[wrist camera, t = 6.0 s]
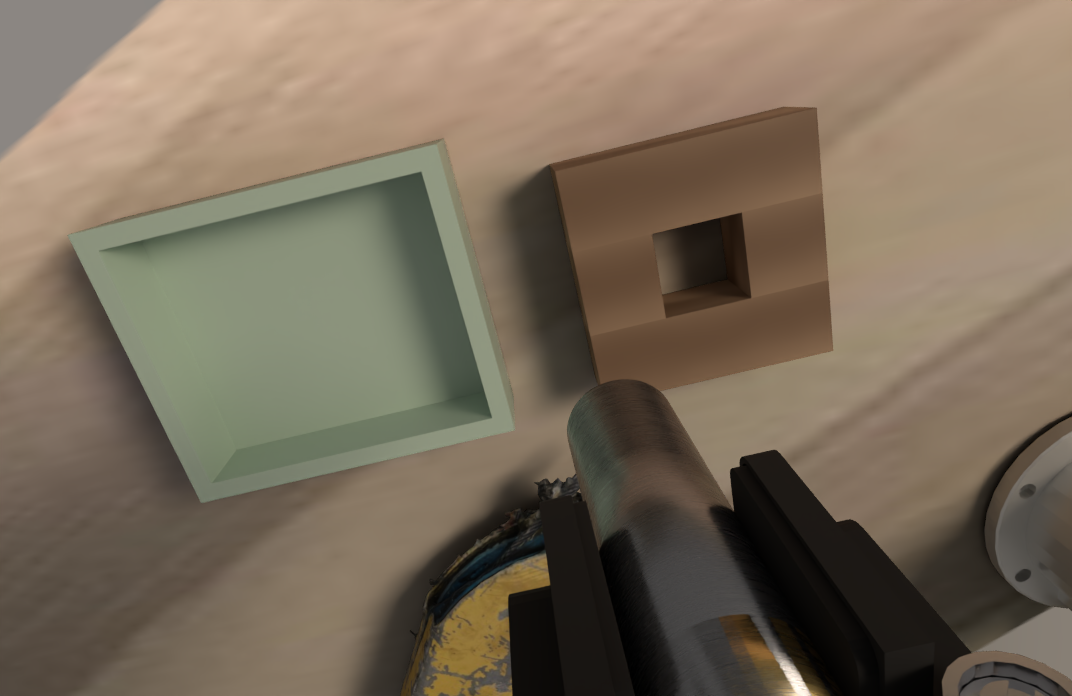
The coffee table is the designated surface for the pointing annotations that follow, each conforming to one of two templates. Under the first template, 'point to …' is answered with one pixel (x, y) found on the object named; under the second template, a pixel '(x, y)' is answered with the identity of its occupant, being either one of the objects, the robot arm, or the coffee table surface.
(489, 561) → the pulley block
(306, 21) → the coffee table surface
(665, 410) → the pin
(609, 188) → the block
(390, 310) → the tray
